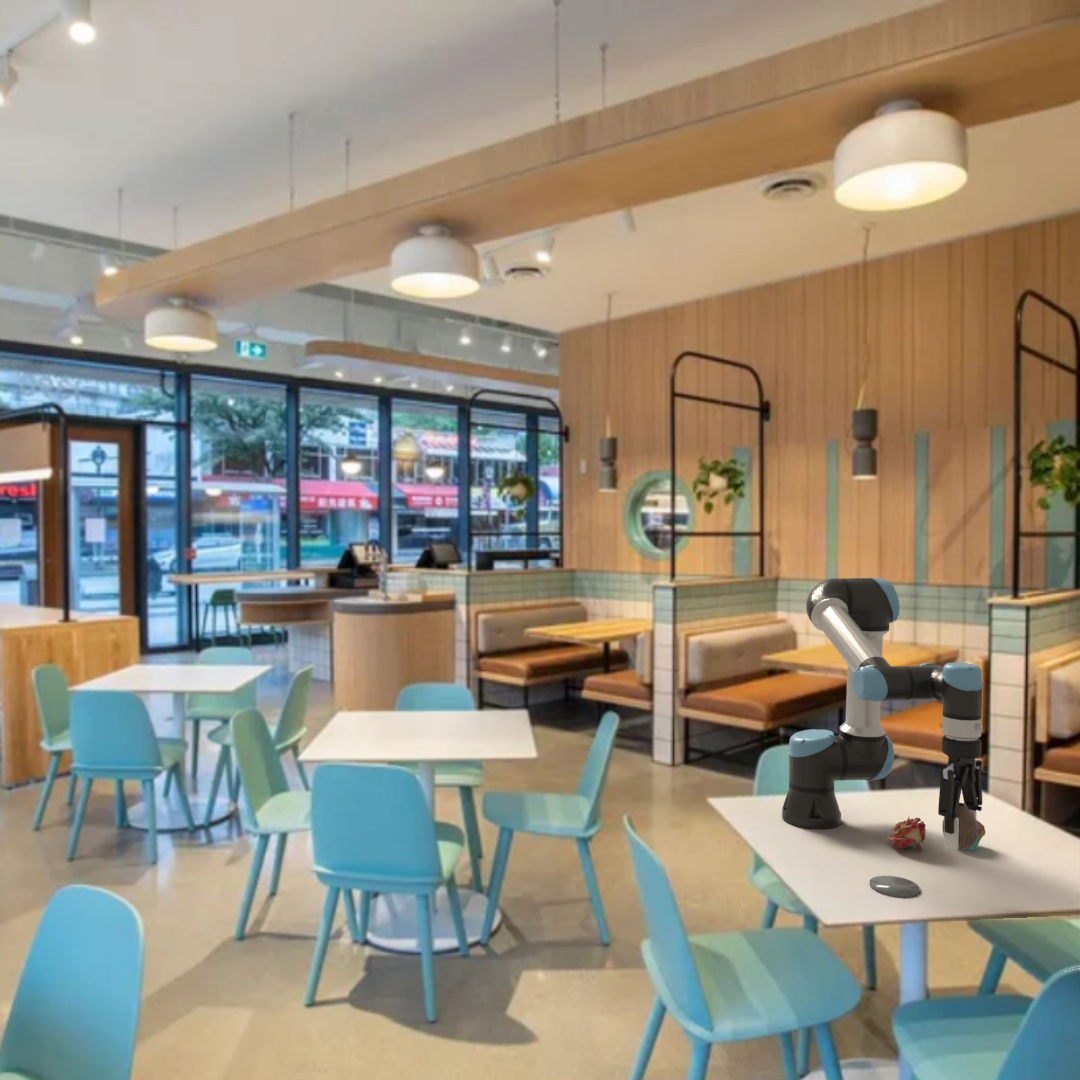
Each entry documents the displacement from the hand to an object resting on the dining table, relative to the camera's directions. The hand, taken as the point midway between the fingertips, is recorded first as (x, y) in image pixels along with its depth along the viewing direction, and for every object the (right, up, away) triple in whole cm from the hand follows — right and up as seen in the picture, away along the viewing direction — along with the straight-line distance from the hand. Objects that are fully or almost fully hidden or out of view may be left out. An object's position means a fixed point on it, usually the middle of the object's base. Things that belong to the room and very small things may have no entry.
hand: (960, 843), depth 188 cm
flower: (-1, -10, +26) cm, 28 cm away
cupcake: (+14, -10, +27) cm, 32 cm away
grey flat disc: (-13, -10, +2) cm, 17 cm away
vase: (0, -1, 0) cm, 1 cm away
